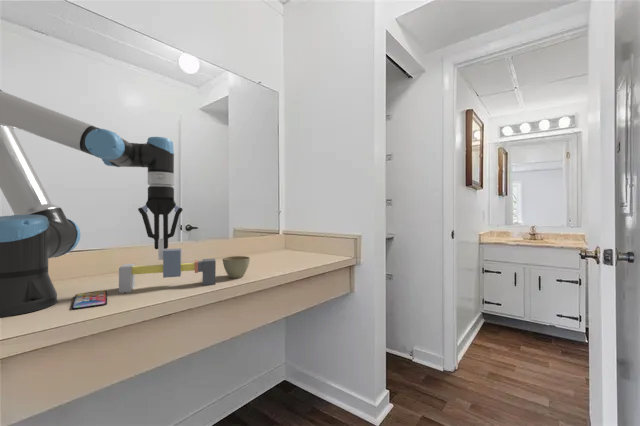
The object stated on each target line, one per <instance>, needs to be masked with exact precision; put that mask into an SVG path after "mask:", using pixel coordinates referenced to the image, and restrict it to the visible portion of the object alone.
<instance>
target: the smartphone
mask: <svg viewBox="0 0 640 426" xmlns="http://www.w3.org/2000/svg"><path fill="white" fill-rule="evenodd" d="M107 305H108V292H107V290H97V291H89V292H88V291H87V292H81V293H76V294H75V296H74V299H73V301H72V305H71V310H72V311H76V310H78V311H79V310H84V309H90V308H96V307H104V306H107Z"/></svg>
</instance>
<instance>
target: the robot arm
mask: <svg viewBox="0 0 640 426" xmlns="http://www.w3.org/2000/svg"><path fill="white" fill-rule="evenodd" d="M14 129H17V130H20V131H23V132H26V133H29V134H32V135H35V136H37V137H40V138H44V139H45V140H49V141H51V142H54V143H57V144H61V145H63V146H66V147H69V148H71V149H74V150H77V151H79V152H80V151H81V152H82V153H85V154H87V155H90V156H94V157H95V158H98V159H100V160H101V161H102V162H103V163H104V165H106V166H107V167H116V168H122V167H124V168H147V185H148V187H147V200H146V203H145V205H144V206H141V207H139V208H137V210H138V212H139V214H140V215H141V217H142V221H143V223H144V227H145V231H146V234H147V237H148V238H151V239H153V240H154V243H153V244H154V250H158V251H157V253H158V255H157V256H158V261H163V251H164V249H169V238H172V237H174V236H175V233H176V229H177V227H178V221H179V218H180V215H181V214H182V212H183V207H180V206H178V205H177V203H176V201H175V188H174V187H173V186H175V173H174V171H175V169H174V168H175V153H174V151H175V150H174V142H173V140H172V139H170V138H166V137H163V136H162V137H161V136H150V137H148V138H147V141H146V142H145V143H137V142H129V141H127V140H125V139H124V138H122V137H121V136H120V135H118V134H117V133H116V132H113V131H111V130H109V129H105V128H99V127H96V126H94V125H92V124H89V123H86V122H84V121H82V120H79V119H77V118H74V117H71V116H69V115H66V114H63V113H60V112H59V111H55V110H52V109H50V108H48V107H45V106H42V105H40V104H37V103H35V102H31V101H29V100H26V99H23V98H20V97H18V96H16V95H13V94H10V93H8V92H6V91H3V90H1V89H0V190H1V192H2V194H3V195H4V197H5V199H6V202H7V203H8V205H9V207H10V209H11V211H12V212H13V214H12V215H2V216H0V318H1V317H10V316H17V315H21V314H27V313H31V312H32V313H33V312H37V311H40V310H44V309H46V308H49V307H52V306H53V305H56V304H57V303H58V293H57V290H56V288H55V286H54V284H53V282H52V280H51V277H50V275H49V259H53V258H59V257H61V256H64V255H66V254H67V253H69V252H71V251H72V250H74V249H75V248H76V247H77V245H79V243H80V240H81V229H80V228H79V225H78V224H77V223H76V222H75V221H73V220H71V219H70V218H67V217H66V214H65V212H64V211H63V209H62V207H61V206H58V205H55V204H53V202H52V201H51V199H50V198H49V196H48V193H47V192H46V190H45V188H44V187H43V184H42V182H41V180H40V178H39V176H38V175H37V173H36V170H35V169H34V167H33V165H32V163H31V161H30V159H29V158H28V155H27V154H26V152H25V150H24V148H23V145H22V144H21V142H20V140H19V139H18V137H17V134H16V133H15V131H14ZM173 210H174V213H175V214H174V217H173V219H172V225H171V228H170V232H169V214H171V213H172V211H173ZM148 211H150V212H151V213H152V214H153V221H154V222H153V223H154V224H153V229H154V230H152V227H151V222H150V219H149V215H148V213H147V212H148ZM160 215H162V218H163V219H162V221H163V222H162V227H163V233H162V235H163V237H162V238H160ZM153 231H154V232H153Z"/></svg>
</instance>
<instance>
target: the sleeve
mask: <svg viewBox="0 0 640 426" xmlns="http://www.w3.org/2000/svg"><path fill="white" fill-rule="evenodd" d="M162 262H163V263H162V265H163V273H162V278H163V279H165V278H178V277H181V276H182V271H181V264H182V248H167V249H164V251H163V260H162Z"/></svg>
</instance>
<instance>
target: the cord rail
mask: <svg viewBox="0 0 640 426" xmlns="http://www.w3.org/2000/svg"><path fill="white" fill-rule="evenodd" d="M216 262H217V261H216V258H202V260H198V259H197V260H194V262H187V263H186V262H185V263H182V262H181V272H191V271H192V272H193V271H194V274H198V273H202V279H201V280H202V282H201V283H202V286H212V285H216V273H217V272H216ZM159 273H161V274H163V264H151V265H148V264H147V265H136V263H124V264H122V265H121V266H120V267H119V268H118V294H123V293H124V292H126V293H131V292H132V291H133V290H134V288H135V286H136V275H145V274H159ZM132 289H133V290H132ZM124 294H125V293H124Z"/></svg>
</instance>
